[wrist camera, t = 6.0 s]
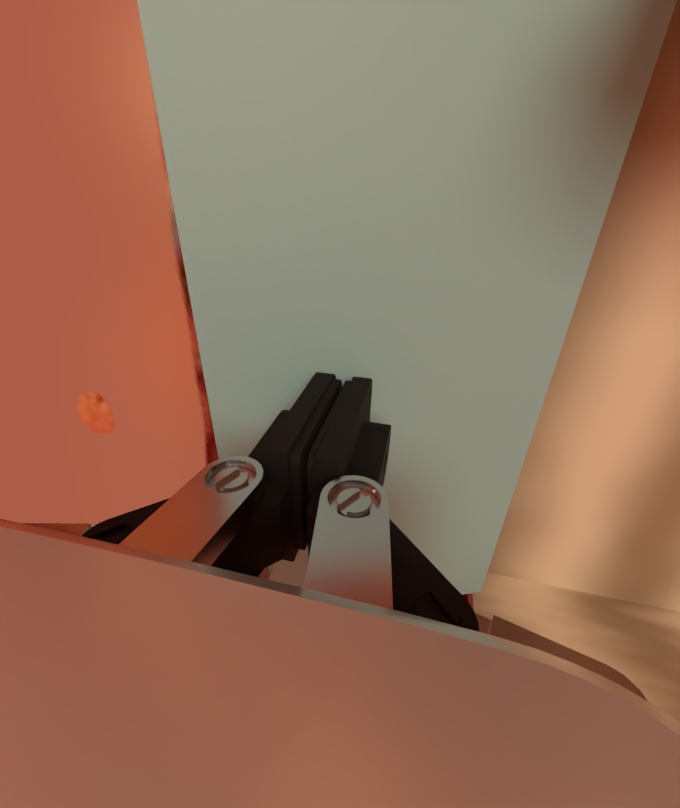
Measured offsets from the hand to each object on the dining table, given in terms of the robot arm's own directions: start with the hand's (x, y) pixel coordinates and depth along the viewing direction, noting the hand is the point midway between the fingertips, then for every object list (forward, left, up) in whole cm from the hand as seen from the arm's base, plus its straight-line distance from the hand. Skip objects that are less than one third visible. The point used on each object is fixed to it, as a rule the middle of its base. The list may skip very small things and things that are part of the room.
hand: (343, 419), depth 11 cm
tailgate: (-6, 0, -4) cm, 7 cm away
